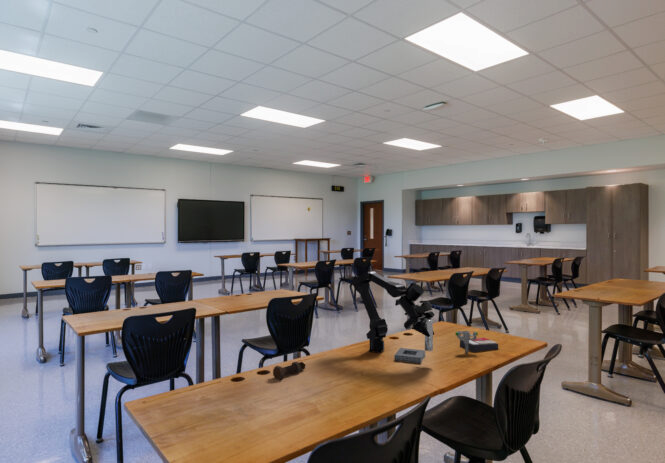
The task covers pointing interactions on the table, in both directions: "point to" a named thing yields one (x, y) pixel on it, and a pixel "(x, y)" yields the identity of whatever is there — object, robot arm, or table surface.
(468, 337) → the mechanical component
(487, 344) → the calculator
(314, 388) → the table surface
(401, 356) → the block
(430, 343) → the axle
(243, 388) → the table surface
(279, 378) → the dark brown knobby piece
